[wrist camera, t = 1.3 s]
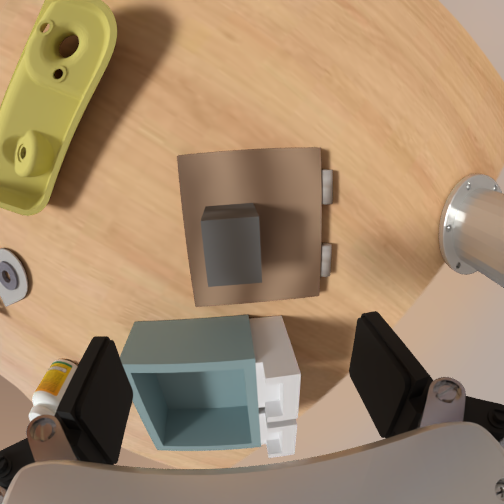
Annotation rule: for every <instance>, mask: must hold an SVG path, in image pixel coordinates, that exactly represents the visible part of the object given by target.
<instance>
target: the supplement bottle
mask: <svg viewBox="0 0 504 504" xmlns="http://www.w3.org/2000/svg"><path fill="white" fill-rule="evenodd" d="M77 367H78V366H77V365H75V364H74V363H72V362H70V361H68V360H64V359H58V360H55V361H54V362H53V363H52V365H51V366H50V368H49V369H48V371H47V373H46V374H45V376H44V378H43V379H42V381H41V383H40V384H39V386H38V388H37V389H36V391H35V393H34V394H33V398H32V401H33V405H34V407H32V409H31V411H30V413H29V419H30V421H32V420H33V419H34V418H36V417H37V416H40V415H52V416H54V415H55V413H56V410H57V408H58V406H59V403H60V401H61V399H62V397H63V395H64V393H65V391H66V389H67V387H68V385H69V383H70V381H71V379H72V377H73V375H74V373H75V371H76V369H77Z"/></svg>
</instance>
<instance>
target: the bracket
mask: <svg viewBox="0 0 504 504" xmlns="http://www.w3.org/2000/svg"><path fill="white" fill-rule="evenodd" d="M5 271H7V272H8V273H9V275H10V278H11V280H9V279H8V278H7V277H6V274H5ZM27 291H28V280H27V275H26V272H25V270H24V267H23V266H22V264H21V262H20V261H19V259H18V258H17V257H16V256H15V255H14V254H13V253H12V252H11V251H9V250H8V249H4V248H0V296H1V298H2V300H3V303H4V304H5V306H8V305H11V304H13V303H15V302H17V301H19V300H21V299H22V298H24V297H25V296H26V294H27Z"/></svg>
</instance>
